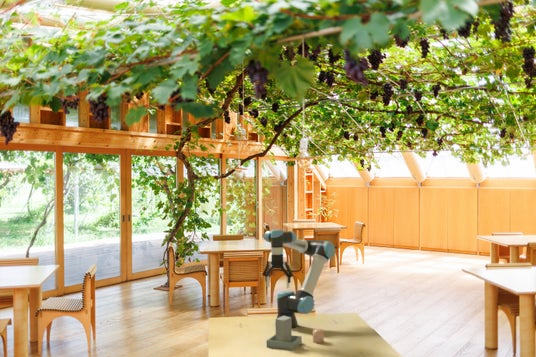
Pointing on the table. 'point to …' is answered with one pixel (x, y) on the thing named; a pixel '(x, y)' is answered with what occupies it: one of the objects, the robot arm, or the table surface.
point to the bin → (284, 343)
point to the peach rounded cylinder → (318, 336)
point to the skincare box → (284, 329)
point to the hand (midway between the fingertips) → (278, 287)
